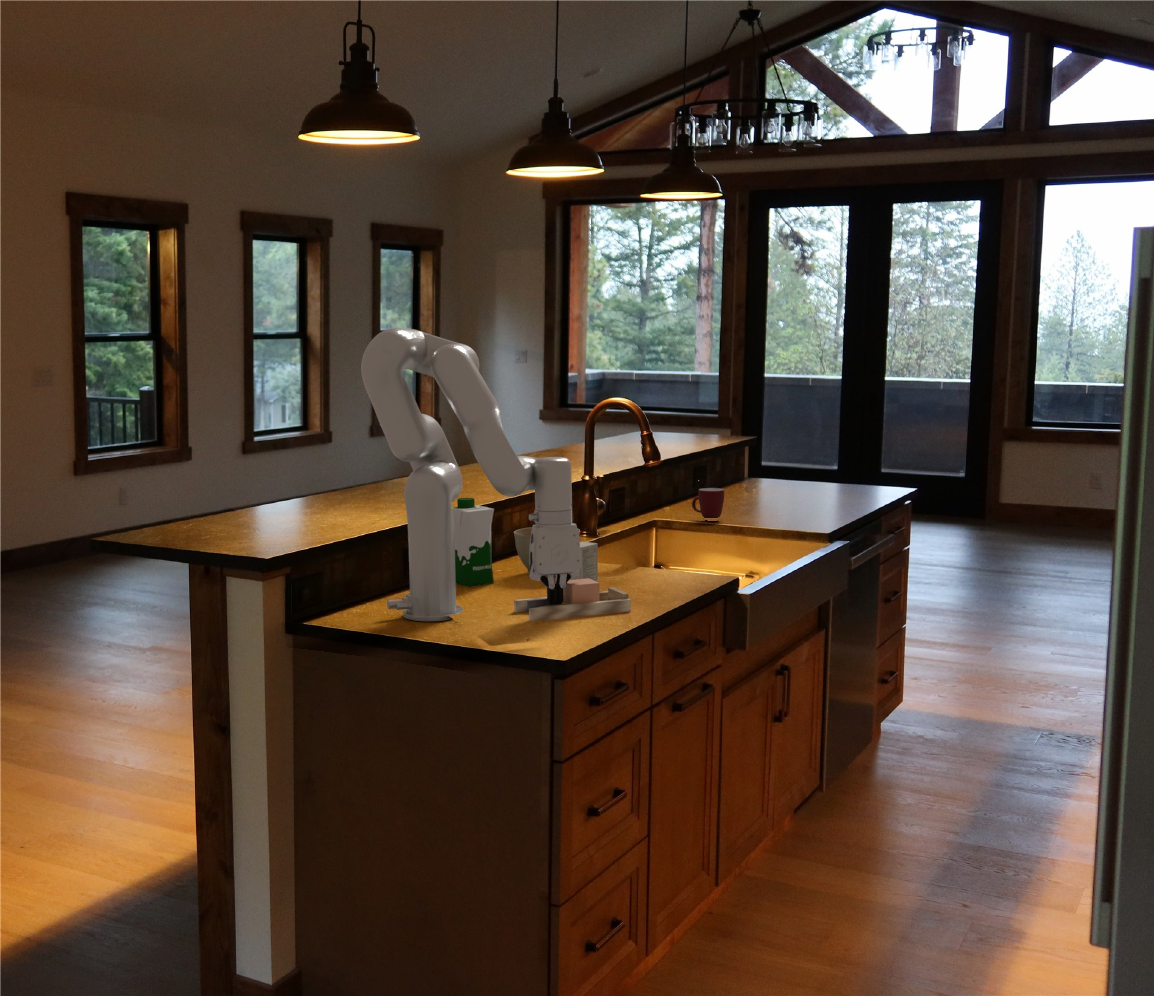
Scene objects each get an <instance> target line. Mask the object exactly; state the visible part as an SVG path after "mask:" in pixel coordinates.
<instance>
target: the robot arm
mask: <svg viewBox="0 0 1154 996" xmlns="http://www.w3.org/2000/svg"><path fill="white" fill-rule="evenodd" d="M360 367H361V368H360V370H361V379H362V382H363V386H364V389H365V391H366V393H367V396H368V398H369V400H370V403H371V405H372V407H373V409H374V413H375V414H376V418H377V420H378V422H379V425H380V428H381V429H382V432H383V434H384V436H385V440H386V442H387V444H388V447H389V450H390V451H391V452H392V454H393V455H394V456H395V457H396V459H398V460H400V461H402V462H409V464H410V466H411V468H412V469H411V470H412V472H410V474H409V476H408V477H407V479H406V482H405V484H404V489H403V494H404V495H403V496H404V497H403V498H404V504H405V512H406V520H407V539H408V540H407V542H408V562H409V563H408V569H409V574H408V575H409V593H406V594H405V597H404V596H403V597H402V598H401V599H390V600H389V599H388V600H387V602H386V605H387V606H386V607H387V609H388V610H397V611H400V610H401V611H402V610H403V611H402V616H403V618H404V619H406V620H409V621H410V620H411V621H414V622H415V621H416V622H443V621H444V622H445V621H451V620H454V618H453V617H451V616H455V615H459V614H462V613H463V612H464V611H465V608H463V607H462V606H460V605H457V584H456V575H455V537H454V520H453V512H452V508H453V503H452V502H454V501H456V499H458V497H459V496H460V494H461V493H462V491H463V490H462V489H463V485H464V482H463V475H462V471H461V469H460V467H459V464H458V462H457V460H456V458H455V455H454V452H453V450H452V447H451V446H450V443H449V441H448V439H447V437H446V434H445V431H444V429H443V428H442V427H441V425H440V424H439V421H437V420H436V419H435V418H433V417H432V416H431V415H429V414H425V413H421V410H420V408H419V405H418V403H417V401H416V400H415V396H414V394H413V391H412V389H411V388H410V386H409V384H408V382H407V381H406V379H405V375H404V371H405V370H409V371H413V372H416V373H418V374H419V373H420V374H422V375H426V376H429V377H432V378H434V380H435V382H436V383H437V385H438V387H439V388H440V390H441V392H442V393H443V395H444V396H445V399H446V400H447V402H448V404H449V406H450V407H451V408H452V410H453V412H454V413H455V415H456V417H457V418H458V420H459V422H460V424H461V425H462V428H463V430H464V434H465V437H466V438H467V441H468V443H469V445H470V449H471V450H472V452H473V455H474V457H475V459H476V461H477V463H478V464H479V466H480V468H481V470H482V471H483V473H484V475H485V477H486V478H487V479H488V481H489V483H490V484H491V487H493V488H494V490H495V491H496V492H498V493H499V494H500V495H502V496H504V497H508V498H509V497H510V498H511V497H513V498H514V497H518V496H519V495H522V494H523V493H525V492H528V491H534V505H535V506H534V512H533V513H529V514H528V520H529V521H533V522H534V523H535V524H533V525H532V532H531V538H530V548H529V568H530V570H531V571H530V575H528V576H529V579H530V580H532V581H535V582H536V581H537V582H541V583H542V584H543V585H544V586H545V587H546V597H547V602H548V603H549V605H559V604H562V602H563V588H564V587H565V585H566V583H567V582H568V581H569V580H570V579H571V578H574V577H577V576H579V575H580V571H579V570H580V569H581V549H580V542H581V541H580V535H578V529H579V528H578V526H577V524H576V523H573V493H572V492H573V490H572V488H573V487H572V482H573V481H572V479H573V477H572V462H571V461H570V459H568V458H567V457H562V456H547V457H533V456H526V455H517V453H516V452H515V450H514V449H513V447H512V444H511V443H510V441H509V440H508V438H507V435H506V433H505V430H504V427H503V424H502V423H503V422H502V416H501V415H502V412H501V408H500V405H499V403H498V401H497V399H496V398H495V396H494V394H493V393H492V391H491V389H490V388H489V386H488V384H487V382H486V381H485V379H484V378H483V376H482V375H481V372H480V359H479V357H478V355H477V352H476V351H475V350H474V349H473V348H472V347H470V346H469V345H467V344H464V343H459V342H457V341H453V340H448V339H446V338H443V337H439V336H436V335H433V334H430V333H427V332H424V331H420V330H418V329H414V328H404V327H402V328H401V327H392V328H388V329H385V330H383V331H381V332H379V333H378V334H376V335H375V336H374V337H373V338H372V340H370V341H369V343H368V345H367V346H366V348H365V350H364V352H363V355H362V358H361V365H360ZM553 575H556V577H553Z"/></svg>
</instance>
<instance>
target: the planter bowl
mask: <svg viewBox="0 0 1154 996" xmlns="http://www.w3.org/2000/svg"><path fill="white" fill-rule="evenodd" d="M532 527H533V526H532ZM532 527H524V528H520V529H516V530H515V531H513V535H514V541H515V548H516V552H517V554H518V557H519V559H520V561H521V563H522V564H523V566H524V567H525V568H526V570H527V574H528V576H530V571H531V570H530V568H529V548H530V538H531V532H532ZM577 529H578V535H579V536H580V534H581V529H579V528H577ZM553 578H556V575H553Z"/></svg>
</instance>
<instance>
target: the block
mask: <svg viewBox="0 0 1154 996" xmlns="http://www.w3.org/2000/svg"><path fill="white" fill-rule="evenodd" d="M599 592H600V582H599V581H598V582H596V581H594V580H592V579H589V578H587V579H577V580H569V581H568V582H567V583H566V585H565V587H564V588H563V604H569V603H572V604H578V603H588V602H598V601H600V596H599Z"/></svg>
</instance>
